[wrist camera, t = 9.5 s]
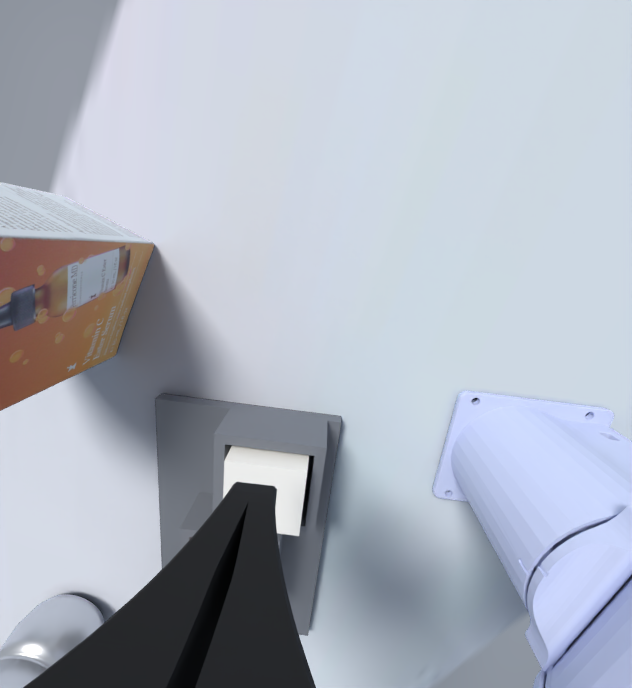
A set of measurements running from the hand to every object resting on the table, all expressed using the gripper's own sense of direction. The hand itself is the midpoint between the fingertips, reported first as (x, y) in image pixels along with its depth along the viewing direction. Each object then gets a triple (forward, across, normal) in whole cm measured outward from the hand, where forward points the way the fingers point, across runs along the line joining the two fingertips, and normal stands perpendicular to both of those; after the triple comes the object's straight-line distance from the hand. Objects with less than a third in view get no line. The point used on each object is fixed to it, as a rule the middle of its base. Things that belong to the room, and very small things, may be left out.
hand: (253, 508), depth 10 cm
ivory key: (+8, 0, +5) cm, 10 cm away
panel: (+10, +2, +12) cm, 16 cm away
